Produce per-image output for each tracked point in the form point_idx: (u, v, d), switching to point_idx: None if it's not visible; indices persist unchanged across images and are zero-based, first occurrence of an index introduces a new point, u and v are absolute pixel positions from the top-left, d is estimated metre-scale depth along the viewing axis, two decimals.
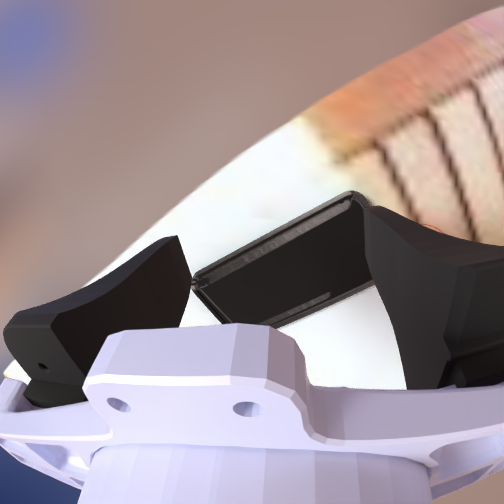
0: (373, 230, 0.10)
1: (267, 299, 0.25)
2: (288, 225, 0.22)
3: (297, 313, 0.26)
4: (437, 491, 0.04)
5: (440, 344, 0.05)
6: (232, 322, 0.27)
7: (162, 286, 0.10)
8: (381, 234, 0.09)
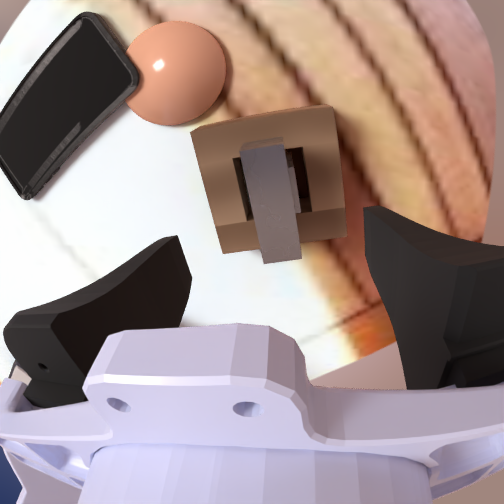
0: (373, 230, 0.10)
1: (33, 143, 0.19)
2: (39, 60, 0.16)
3: (58, 156, 0.20)
4: (437, 491, 0.04)
5: (440, 344, 0.05)
6: (16, 178, 0.21)
7: (162, 286, 0.10)
8: (381, 234, 0.09)
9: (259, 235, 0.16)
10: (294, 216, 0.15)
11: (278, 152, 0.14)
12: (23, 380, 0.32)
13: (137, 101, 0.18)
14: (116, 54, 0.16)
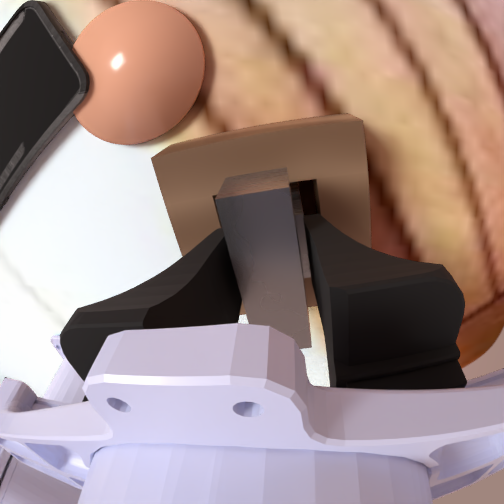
0: (307, 239, 0.10)
1: None
2: None
3: (4, 185, 0.14)
4: (437, 491, 0.04)
5: (334, 364, 0.06)
6: None
7: (225, 279, 0.10)
8: (310, 244, 0.10)
9: (250, 320, 0.11)
10: (303, 296, 0.10)
11: (280, 201, 0.08)
12: None
13: (87, 113, 0.13)
14: (61, 51, 0.11)
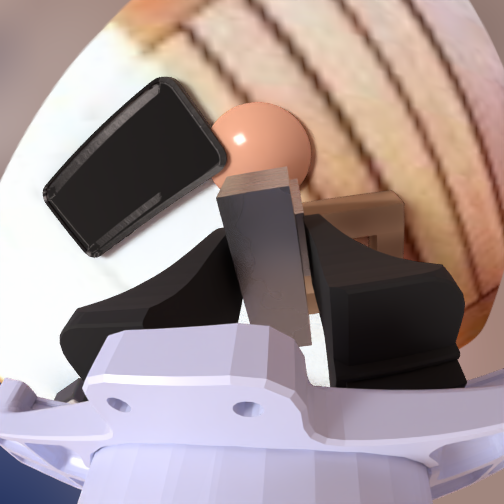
0: (307, 239, 0.10)
1: (103, 206, 0.23)
2: (107, 120, 0.19)
3: (134, 221, 0.23)
4: (437, 492, 0.04)
5: (333, 364, 0.06)
6: (81, 236, 0.24)
7: (225, 279, 0.10)
8: (310, 244, 0.10)
9: (251, 317, 0.11)
10: (303, 294, 0.10)
11: (280, 200, 0.09)
12: None
13: (223, 179, 0.21)
14: (202, 131, 0.19)
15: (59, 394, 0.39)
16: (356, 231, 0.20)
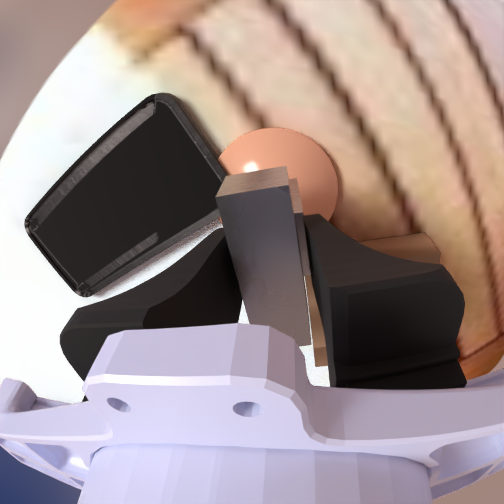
0: (307, 239, 0.10)
1: (92, 243, 0.19)
2: (93, 145, 0.16)
3: (127, 263, 0.20)
4: (437, 491, 0.04)
5: (333, 364, 0.06)
6: (68, 273, 0.21)
7: (226, 279, 0.10)
8: (310, 244, 0.10)
9: (250, 317, 0.11)
10: (303, 293, 0.10)
11: (280, 199, 0.09)
12: None
13: None
14: (207, 162, 0.16)
15: None
16: None
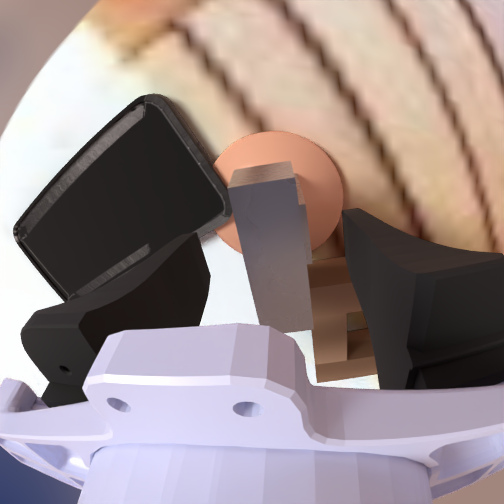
0: (350, 233, 0.10)
1: (82, 254, 0.18)
2: (80, 150, 0.15)
3: (118, 274, 0.19)
4: (437, 492, 0.04)
5: (404, 352, 0.05)
6: (59, 284, 0.20)
7: (184, 283, 0.10)
8: (356, 237, 0.09)
9: (256, 302, 0.11)
10: (306, 279, 0.11)
11: (287, 190, 0.09)
12: None
13: (229, 230, 0.17)
14: (202, 169, 0.15)
15: None
16: None
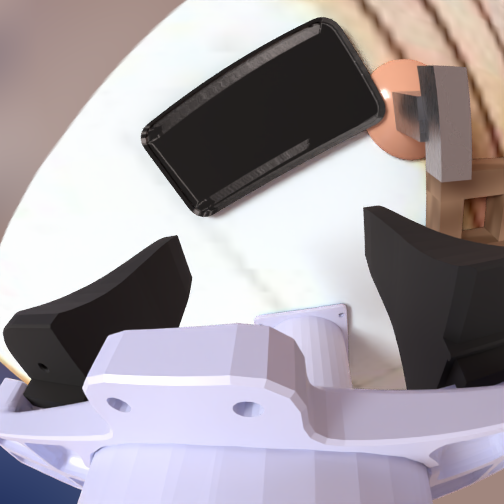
0: (373, 230, 0.10)
1: (231, 151, 0.20)
2: (251, 52, 0.17)
3: (269, 172, 0.20)
4: (437, 492, 0.04)
5: (440, 344, 0.05)
6: (189, 189, 0.21)
7: (162, 286, 0.10)
8: (381, 234, 0.09)
9: (442, 150, 0.13)
10: (470, 135, 0.12)
11: (462, 73, 0.11)
12: None
13: (378, 130, 0.18)
14: (364, 79, 0.17)
15: None
16: (491, 189, 0.17)
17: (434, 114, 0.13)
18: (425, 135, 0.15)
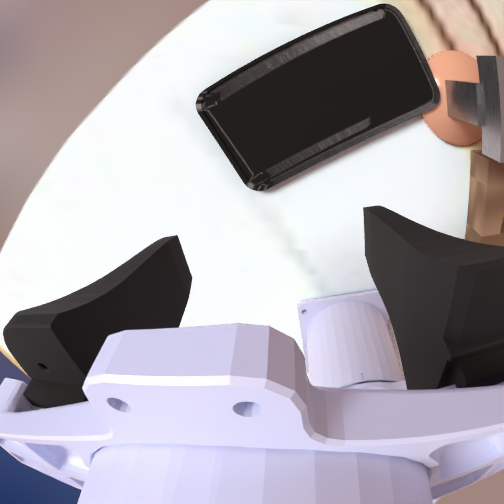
0: (373, 230, 0.10)
1: (293, 123, 0.19)
2: (319, 28, 0.15)
3: (330, 147, 0.19)
4: (437, 491, 0.04)
5: (440, 344, 0.05)
6: (245, 161, 0.20)
7: (162, 286, 0.10)
8: (381, 234, 0.09)
9: (502, 133, 0.12)
10: None
11: None
12: None
13: (432, 114, 0.17)
14: (422, 65, 0.16)
15: None
16: None
17: (494, 100, 0.12)
18: (482, 120, 0.14)
